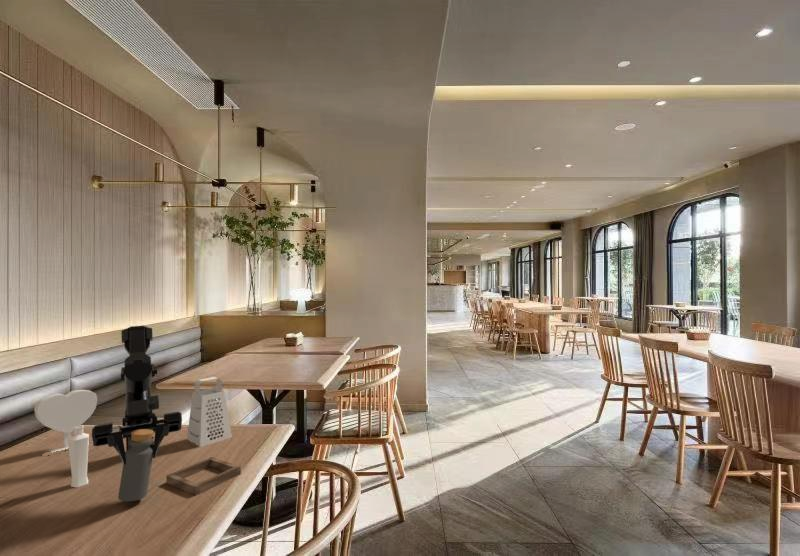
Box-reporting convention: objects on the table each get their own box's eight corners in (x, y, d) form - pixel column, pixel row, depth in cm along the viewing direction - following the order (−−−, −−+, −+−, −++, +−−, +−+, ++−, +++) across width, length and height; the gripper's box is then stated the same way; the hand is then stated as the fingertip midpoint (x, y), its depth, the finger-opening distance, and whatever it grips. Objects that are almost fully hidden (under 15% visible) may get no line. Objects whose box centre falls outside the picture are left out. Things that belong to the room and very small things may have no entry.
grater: (231, 437, 140) (230, 378, 140) (200, 447, 132) (198, 384, 132) (217, 430, 147) (216, 374, 147) (186, 439, 139) (185, 379, 139)
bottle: (133, 503, 95) (143, 436, 97) (111, 499, 96) (122, 432, 98) (152, 493, 101) (162, 430, 103) (131, 489, 102) (141, 427, 104)
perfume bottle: (95, 480, 110) (94, 424, 111) (78, 488, 106) (77, 430, 106) (83, 478, 112) (82, 423, 112) (66, 486, 108) (65, 428, 108)
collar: (166, 483, 108) (166, 475, 108) (211, 464, 119) (211, 457, 119) (195, 495, 101) (195, 487, 101) (240, 473, 112) (240, 466, 112)
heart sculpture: (93, 439, 142) (92, 386, 142) (99, 442, 138) (98, 388, 139) (34, 455, 129) (33, 397, 129) (38, 458, 126) (37, 399, 126)
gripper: (91, 392, 98) (87, 455, 89) (180, 380, 108) (185, 435, 99) (95, 416, 105) (92, 477, 95) (178, 403, 115) (183, 457, 105)
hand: (139, 460), depth 99 cm, fingers closed on bottle, 6 cm apart
